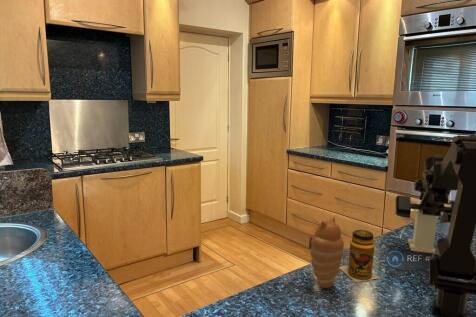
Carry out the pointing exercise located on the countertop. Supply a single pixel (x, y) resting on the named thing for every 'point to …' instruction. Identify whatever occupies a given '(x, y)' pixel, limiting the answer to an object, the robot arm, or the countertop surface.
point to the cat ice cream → (327, 252)
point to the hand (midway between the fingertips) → (423, 220)
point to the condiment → (360, 257)
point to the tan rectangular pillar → (424, 230)
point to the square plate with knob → (420, 248)
